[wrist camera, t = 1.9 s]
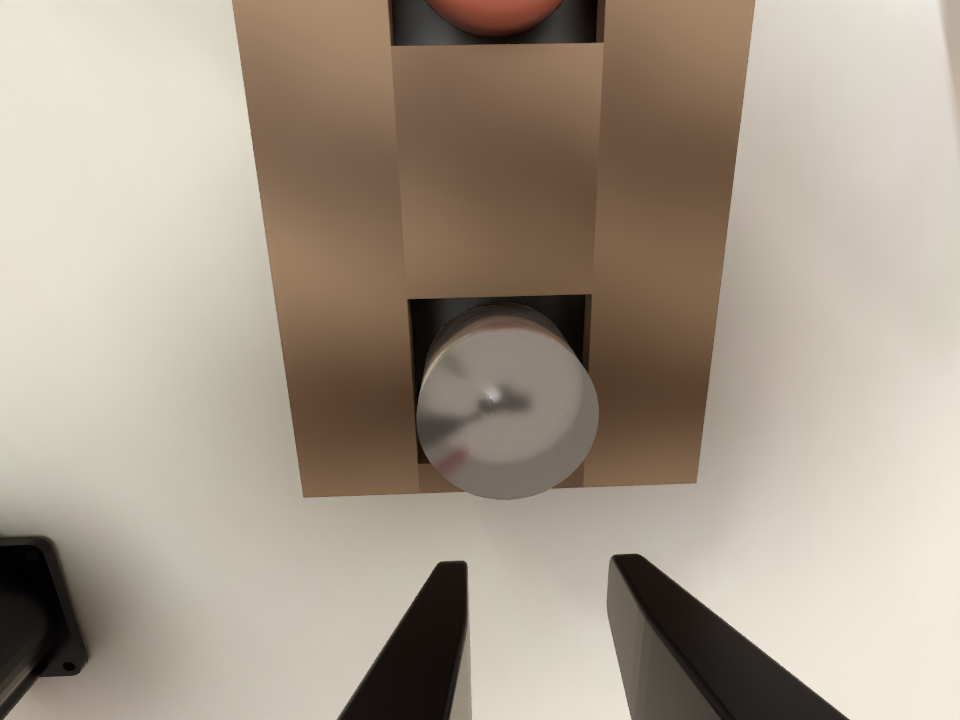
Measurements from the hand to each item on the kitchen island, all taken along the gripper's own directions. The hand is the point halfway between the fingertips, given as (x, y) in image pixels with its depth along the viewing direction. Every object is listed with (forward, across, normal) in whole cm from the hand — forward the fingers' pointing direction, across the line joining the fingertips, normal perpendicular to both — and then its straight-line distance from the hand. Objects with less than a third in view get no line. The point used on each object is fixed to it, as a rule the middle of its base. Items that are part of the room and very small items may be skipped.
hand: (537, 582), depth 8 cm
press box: (+12, 0, -6) cm, 13 cm away
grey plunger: (+9, 0, 0) cm, 9 cm away
